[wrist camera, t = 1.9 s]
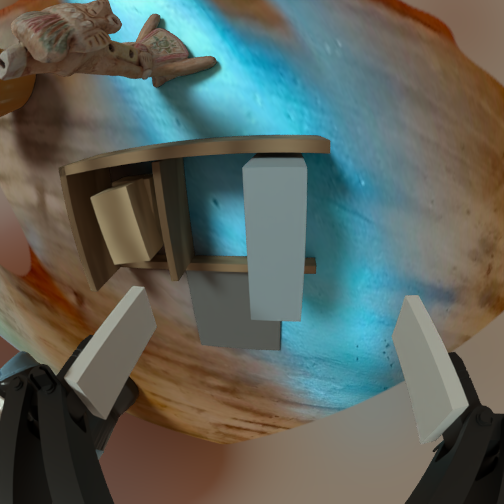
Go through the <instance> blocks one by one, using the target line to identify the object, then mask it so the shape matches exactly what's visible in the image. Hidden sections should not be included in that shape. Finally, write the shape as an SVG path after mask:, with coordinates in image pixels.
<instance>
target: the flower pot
mask: <svg viewBox="0 0 504 504" xmlns="http://www.w3.org/2000/svg"><path fill="white" fill-rule="evenodd" d="M3 51H4V50H3V49H0V54H1V53H2V52H3ZM35 79H36V74H31V75H27V76H23V77H19V78H14V79H10V80H1V79H0V117H1V116H4V115H6V114H8V113H10V112H12V111H15V110H17V109H19V108H21V107H22V106H23V105H24V104H25V103H26V102H27V101H28V99H29V97H30V95H31V93H32V91H33V87H34V83H35Z"/></svg>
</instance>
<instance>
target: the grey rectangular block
mask: <svg viewBox="0 0 504 504" xmlns="http://www.w3.org/2000/svg"><path fill="white" fill-rule="evenodd" d="M242 172H243V191H244V209H245V226H246V244H247V261H248V278H249V294H250V311H251V320H268V321H301V309H302V296H303V281H304V263H305V242H306V212H307V166H306V163H305V161H304V158H303V156H302V154H301V153H296V152H269V153H257V154H255V155H254V156H253V157H252V158H251V159H250V160H249V161H248V162H247V163H246V164H245V165H244V166H243V167H242Z"/></svg>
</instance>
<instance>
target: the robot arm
mask: <svg viewBox="0 0 504 504" xmlns="http://www.w3.org/2000/svg"><path fill="white" fill-rule="evenodd" d="M156 327H157V326H156V323H155V320H154V317H153V313H152V310H151V307H150V304H149V300H148V297H147V294H146V290H145V287H137V286H132V288H131V289H130V290H129V291H128V292H127V294H126V295H125V296H124V297H123V299H122V300H121V301H120V302H119V304H118V305H117V306H116V307H115V309H114V310H113V311H112V312H111V314H110V315H109V316H108V318H107V319H106V320H105V321H104V323H103V324H102V325H101V327H100V328H99V329H98V331H97V332H96V333H95V335H94V336H93V335H89V336H88V337H87V338H85V339H84V340H83V341H82V342H81V343H80V344H79V346H78V347H77V350H75V351H74V352H73V354H72V356H70V358H69V359H68V361H67V362H66V363H65V365H64V366H63V368H62V369H61V370H60V372H59V373H58V375H57V376H55V374H54V373H53V371H52V370H51V369H50V367H49V366H48V365H45V364H40V363H38V362H37V361H36V360H35V359H34V358H33V357H32V356H31V355H30V354H29V353H27V352H25V351H22V352H19V353H18V354H16V355H15V356H14V357H13V358H12V359H11V360H9V361H8V362H7V363H6V364H5V365H4V366H3V367H2V368H1V369H0V504H114V502H113V499H112V497H111V494H110V492H109V489H108V487H107V484H106V481H105V478H104V475H103V473H102V470H101V466H100V464H99V459H100V457H101V455H102V453H104V449H105V447H106V444H107V442H108V440H109V438H110V436H111V433H112V431H113V429H114V427H115V425H116V423H117V421H118V418H119V417H120V416H121V415H122V414H123V413H124V412H125V411H126V410H127V409H128V408H129V407H130V406H131V405H133V404H134V403H135V401H136V399H137V397H138V395H139V391H138V388H137V387H136V385H135V384H134V382H133V381H132V380H131V379H130V378H129V375H130V373H131V371H132V370H133V368H134V366H135V364H136V362H137V360H138V359H139V357H140V355H141V353H142V352H143V350H144V348H145V346H146V345H147V343H148V341H149V339H150V338H151V336H152V334H153V332H154V331H155V329H156ZM392 339H393V342H394V345H395V348H396V351H397V355H398V358H399V361H400V364H401V368H402V371H403V374H404V378H405V381H406V385H407V389H408V392H409V396H410V400H411V404H412V408H413V412H414V416H415V421H416V425H417V430H418V434H419V440H420V444H424V443H428V442H432V441H435V440H437V439H438V438H439V437H440V436H441V434H442V435H443V439H444V440H443V441H442V442H441V443H440V444H439V445H438V446H436V448H435V449H434V450H433V452H435V451H436V450H437V449H438V450H437V452H436V454H435V456H434V457H433V459H432V461H431V463H430V465H429V467H428V468H427V470H426V472H425V473H424V475H423V477H422V478H421V480H420V482H419V483H418V485H417V486H416V488H415V489H414V491H413V492H412V494H411V495H410V497H409V498H408V500H407V501H406V502H405V504H504V414H494V413H493V412H492V410H491V409H490V408H488V407H487V406H483V405H481V403H480V401H479V398H478V395H477V393H476V390H475V388H474V386H473V383H472V381H471V378H469V374H468V372H467V371H466V367H465V365H464V363H463V361H462V359H461V358H460V357H459V356H458V355H457V354H456V353H455V352H451V353H447V350H446V348H445V346H444V344H443V342H442V340H441V338H440V336H439V334H438V332H437V330H436V328H435V326H434V324H433V322H432V320H431V318H430V316H429V314H428V312H427V310H426V309H425V307H424V305H423V303H422V301H421V299H420V298H419V296H418V295H412V296H405V298H404V301H403V305H402V308H401V311H400V314H399V317H398V320H397V323H396V326H395V329H394V332H393V334H392Z"/></svg>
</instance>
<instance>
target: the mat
mask: <svg viewBox="0 0 504 504" xmlns="http://www.w3.org/2000/svg"><path fill="white" fill-rule="evenodd" d="M186 273H187V278H188V283H189V288H190V294H191V299H192V304H193V308H194V313H195V318H196V322H197V327H198V331H199V336H200V340H201V344H202V345H208V346H218V347H229V348H242V349H258V350H280V321H268V320H251V311H250V294H249V278H248V272H222V271H195V270H186Z"/></svg>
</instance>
